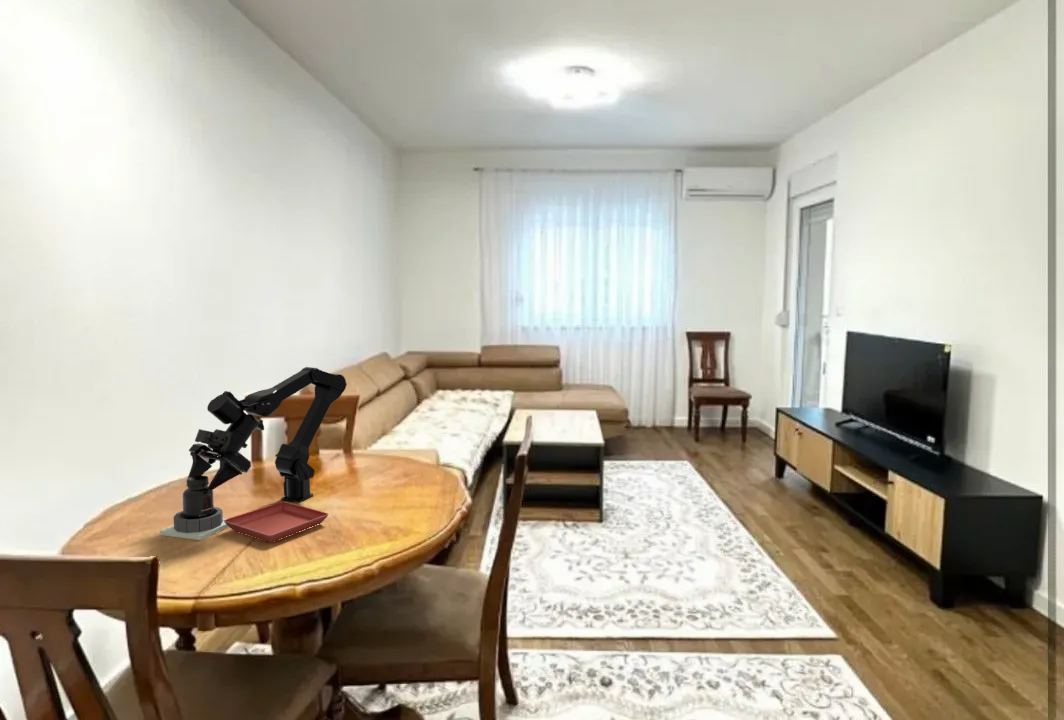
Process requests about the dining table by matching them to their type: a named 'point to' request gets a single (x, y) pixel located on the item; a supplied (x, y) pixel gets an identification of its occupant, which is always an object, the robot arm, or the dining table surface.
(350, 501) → the dining table surface
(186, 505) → the supplement bottle
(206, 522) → the collar
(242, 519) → the plant saucer
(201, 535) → the board
